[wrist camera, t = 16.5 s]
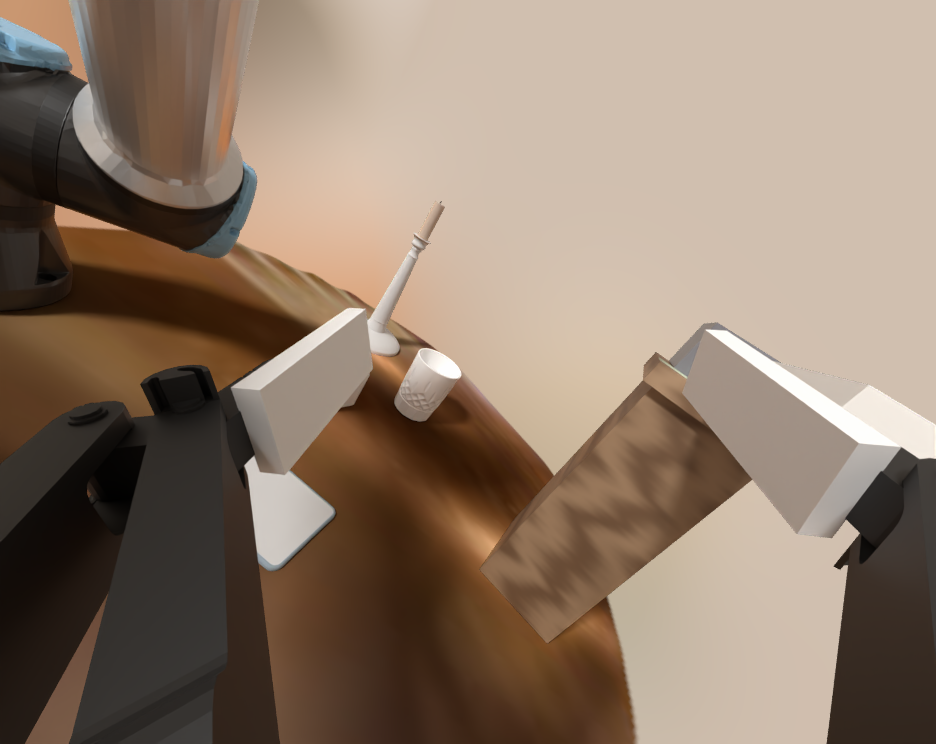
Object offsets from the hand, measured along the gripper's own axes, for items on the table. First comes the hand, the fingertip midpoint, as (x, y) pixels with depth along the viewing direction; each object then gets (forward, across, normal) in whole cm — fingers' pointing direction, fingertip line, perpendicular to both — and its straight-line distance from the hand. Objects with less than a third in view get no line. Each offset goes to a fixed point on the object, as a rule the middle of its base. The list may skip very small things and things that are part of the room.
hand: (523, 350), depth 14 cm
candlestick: (+51, -29, -22) cm, 63 cm away
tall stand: (+15, +4, -37) cm, 40 cm away
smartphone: (+8, -24, -20) cm, 33 cm away
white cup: (+35, -16, -28) cm, 48 cm away
